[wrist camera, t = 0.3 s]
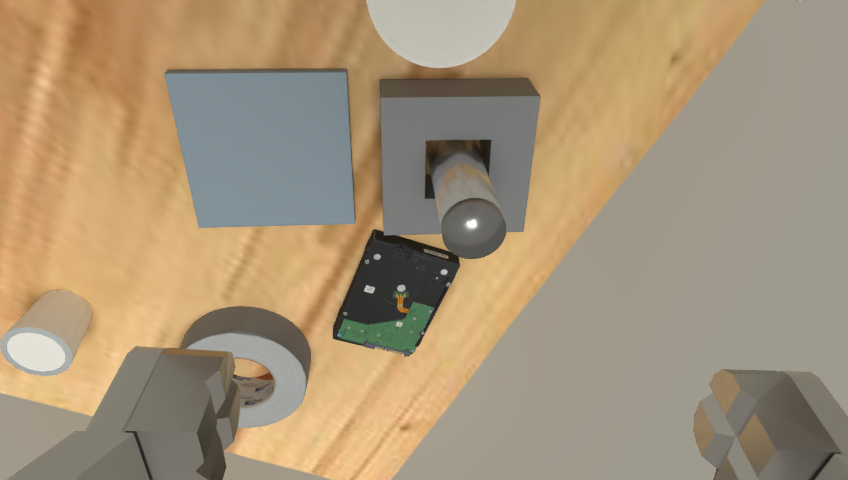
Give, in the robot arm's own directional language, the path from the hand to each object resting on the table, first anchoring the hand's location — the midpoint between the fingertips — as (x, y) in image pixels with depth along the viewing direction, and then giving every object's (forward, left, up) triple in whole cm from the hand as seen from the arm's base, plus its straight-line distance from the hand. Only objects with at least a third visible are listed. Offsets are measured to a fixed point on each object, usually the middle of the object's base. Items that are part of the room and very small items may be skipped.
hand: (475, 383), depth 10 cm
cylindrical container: (-2, +2, -47) cm, 48 cm away
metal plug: (+17, +6, -47) cm, 50 cm away
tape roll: (+44, -18, -48) cm, 67 cm away
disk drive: (+35, 0, -48) cm, 59 cm away
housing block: (+17, +6, -47) cm, 50 cm away
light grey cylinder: (+36, -37, -48) cm, 70 cm away
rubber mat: (+17, -12, -47) cm, 52 cm away
